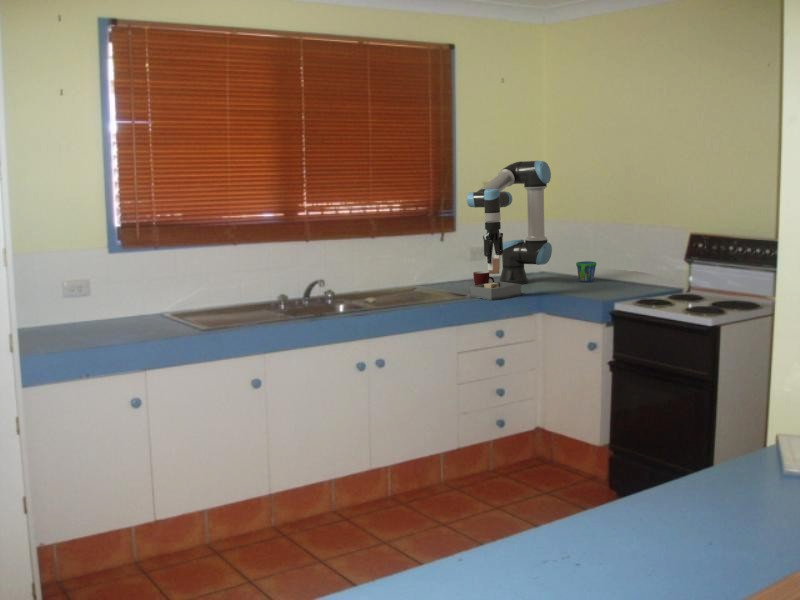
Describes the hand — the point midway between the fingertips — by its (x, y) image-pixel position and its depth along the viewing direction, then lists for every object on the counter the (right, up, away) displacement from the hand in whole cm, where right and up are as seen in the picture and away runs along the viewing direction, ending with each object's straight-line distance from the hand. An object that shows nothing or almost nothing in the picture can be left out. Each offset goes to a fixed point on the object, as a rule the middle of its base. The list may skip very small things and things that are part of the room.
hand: (494, 269), depth 437 cm
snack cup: (+54, -5, +43) cm, 69 cm away
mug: (-3, -11, +23) cm, 25 cm away
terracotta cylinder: (0, -2, 0) cm, 2 cm away
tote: (+2, -13, +6) cm, 15 cm away
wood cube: (0, -12, +8) cm, 14 cm away
